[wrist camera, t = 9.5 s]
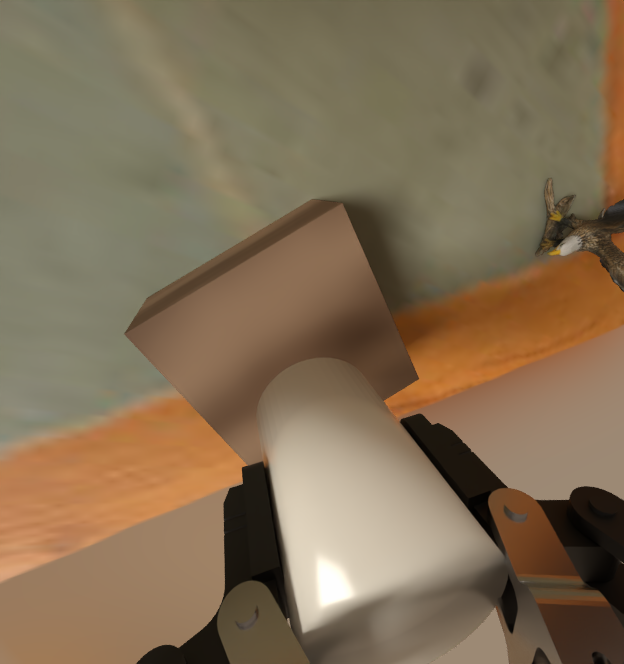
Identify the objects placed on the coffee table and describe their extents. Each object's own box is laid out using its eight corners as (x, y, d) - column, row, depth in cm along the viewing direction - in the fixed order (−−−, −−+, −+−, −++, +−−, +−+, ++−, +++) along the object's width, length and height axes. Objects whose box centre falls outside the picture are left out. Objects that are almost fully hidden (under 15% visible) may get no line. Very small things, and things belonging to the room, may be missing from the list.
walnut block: (148, 296, 21) (124, 333, 16) (310, 199, 21) (342, 203, 16) (250, 418, 26) (259, 477, 21) (378, 340, 27) (419, 378, 21)
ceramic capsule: (243, 376, 13) (274, 600, 6) (366, 344, 14) (521, 506, 7) (269, 470, 15) (314, 716, 8) (374, 438, 16) (497, 634, 9)
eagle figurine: (501, 205, 24) (638, 214, 16) (582, 157, 25) (758, 143, 17) (517, 290, 28) (636, 332, 20) (588, 248, 28) (735, 272, 20)
